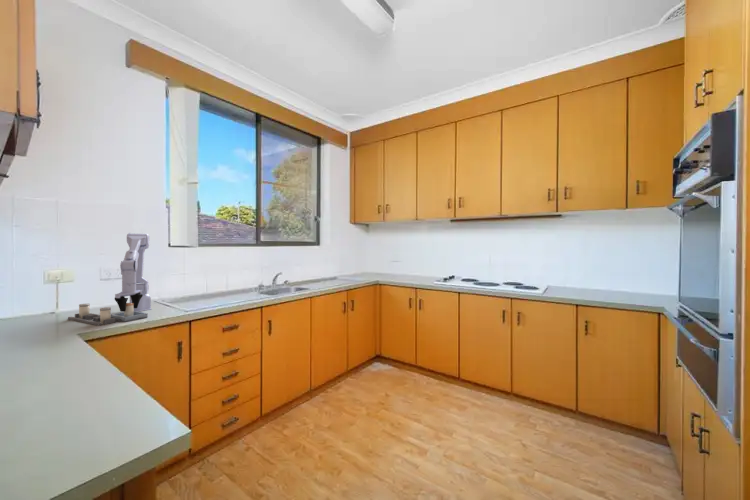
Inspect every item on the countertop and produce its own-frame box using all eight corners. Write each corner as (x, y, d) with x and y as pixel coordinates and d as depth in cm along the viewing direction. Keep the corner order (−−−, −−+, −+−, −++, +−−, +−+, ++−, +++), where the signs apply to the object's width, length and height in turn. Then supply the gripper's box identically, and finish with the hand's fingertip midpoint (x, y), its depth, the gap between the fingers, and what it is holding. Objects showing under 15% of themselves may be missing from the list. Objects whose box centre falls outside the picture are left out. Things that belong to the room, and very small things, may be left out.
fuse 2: (107, 320, 161) (107, 306, 160) (112, 321, 159) (112, 307, 159) (97, 322, 157) (97, 308, 157) (102, 323, 155) (102, 309, 155)
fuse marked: (128, 315, 169) (128, 302, 169) (135, 316, 169) (135, 302, 168) (121, 317, 165) (121, 304, 165) (129, 318, 165) (129, 304, 164)
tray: (132, 314, 174) (132, 310, 174) (147, 317, 169) (147, 313, 169) (109, 318, 164) (109, 314, 164) (125, 321, 159) (125, 317, 159)
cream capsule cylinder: (87, 316, 168) (86, 303, 167) (91, 317, 166) (91, 304, 166) (77, 318, 164) (77, 304, 164) (81, 319, 162) (81, 305, 162)
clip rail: (91, 315, 171) (91, 311, 171) (121, 321, 161) (121, 317, 161) (68, 319, 162) (68, 315, 162) (98, 325, 152) (98, 321, 152)
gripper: (133, 281, 174) (133, 306, 174) (109, 285, 159) (109, 312, 160) (145, 281, 173) (145, 307, 174) (122, 285, 159) (122, 313, 159)
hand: (129, 309), depth 167 cm, fingers open, 7 cm apart
